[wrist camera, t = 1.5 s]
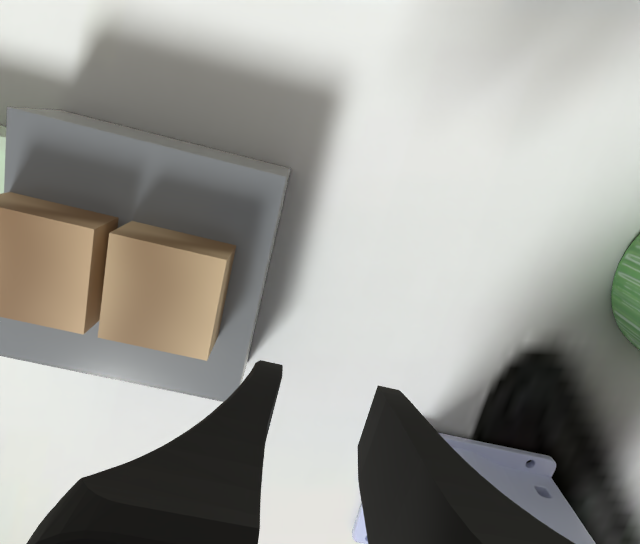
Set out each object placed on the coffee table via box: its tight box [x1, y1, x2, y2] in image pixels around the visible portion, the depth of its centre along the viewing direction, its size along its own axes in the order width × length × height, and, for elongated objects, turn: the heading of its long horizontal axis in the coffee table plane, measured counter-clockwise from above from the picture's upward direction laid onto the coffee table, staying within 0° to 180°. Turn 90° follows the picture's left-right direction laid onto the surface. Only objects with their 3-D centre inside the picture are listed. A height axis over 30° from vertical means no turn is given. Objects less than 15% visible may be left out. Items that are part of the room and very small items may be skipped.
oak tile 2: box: [0, 192, 119, 335], centre depth 17 cm, size 4×4×2 cm
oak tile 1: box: [98, 221, 236, 361], centre depth 17 cm, size 4×4×2 cm
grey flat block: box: [0, 107, 291, 402], centre depth 19 cm, size 10×10×4 cm
